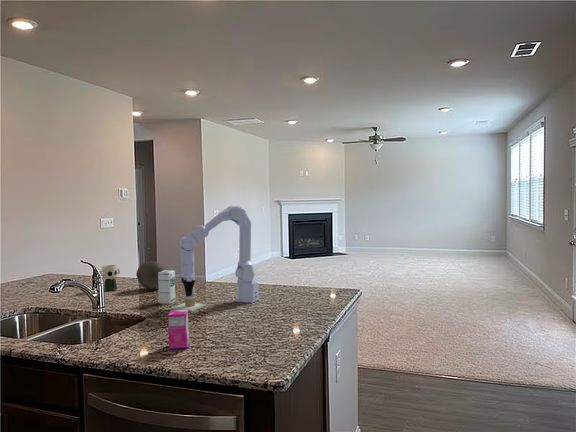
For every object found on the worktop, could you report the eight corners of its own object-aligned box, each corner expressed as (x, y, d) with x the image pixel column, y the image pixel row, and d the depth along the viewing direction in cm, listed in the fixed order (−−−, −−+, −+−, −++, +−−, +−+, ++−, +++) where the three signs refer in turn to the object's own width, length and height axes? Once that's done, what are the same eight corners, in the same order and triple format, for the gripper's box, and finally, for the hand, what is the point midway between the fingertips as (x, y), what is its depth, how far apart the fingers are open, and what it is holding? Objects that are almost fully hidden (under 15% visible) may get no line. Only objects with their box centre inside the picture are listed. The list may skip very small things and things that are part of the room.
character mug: (104, 293, 229) (103, 267, 229) (97, 291, 234) (96, 266, 234) (123, 289, 238) (123, 265, 237) (116, 287, 242) (116, 263, 242)
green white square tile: (206, 305, 200) (206, 303, 200) (192, 311, 189) (192, 309, 189) (185, 303, 204) (185, 302, 204) (170, 309, 193) (170, 307, 193)
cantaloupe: (144, 286, 244) (144, 259, 243) (169, 287, 242) (168, 259, 241) (132, 292, 230) (131, 263, 229) (158, 292, 228) (157, 263, 227)
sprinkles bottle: (191, 303, 200) (191, 273, 199) (197, 305, 197) (196, 275, 196) (182, 305, 197) (181, 275, 196) (188, 307, 194) (187, 276, 193)
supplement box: (171, 344, 147) (170, 309, 147) (189, 343, 148) (188, 309, 147) (168, 350, 142) (167, 314, 141) (187, 349, 142) (186, 313, 142)
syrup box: (170, 303, 203) (169, 272, 203) (158, 303, 205) (157, 271, 204) (176, 301, 209) (175, 270, 208) (164, 300, 210) (163, 269, 209)
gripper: (177, 262, 202) (178, 292, 202) (179, 267, 188) (179, 299, 188) (193, 261, 203) (194, 291, 204) (196, 266, 190) (196, 297, 190)
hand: (188, 295), depth 196 cm, fingers open, 4 cm apart
